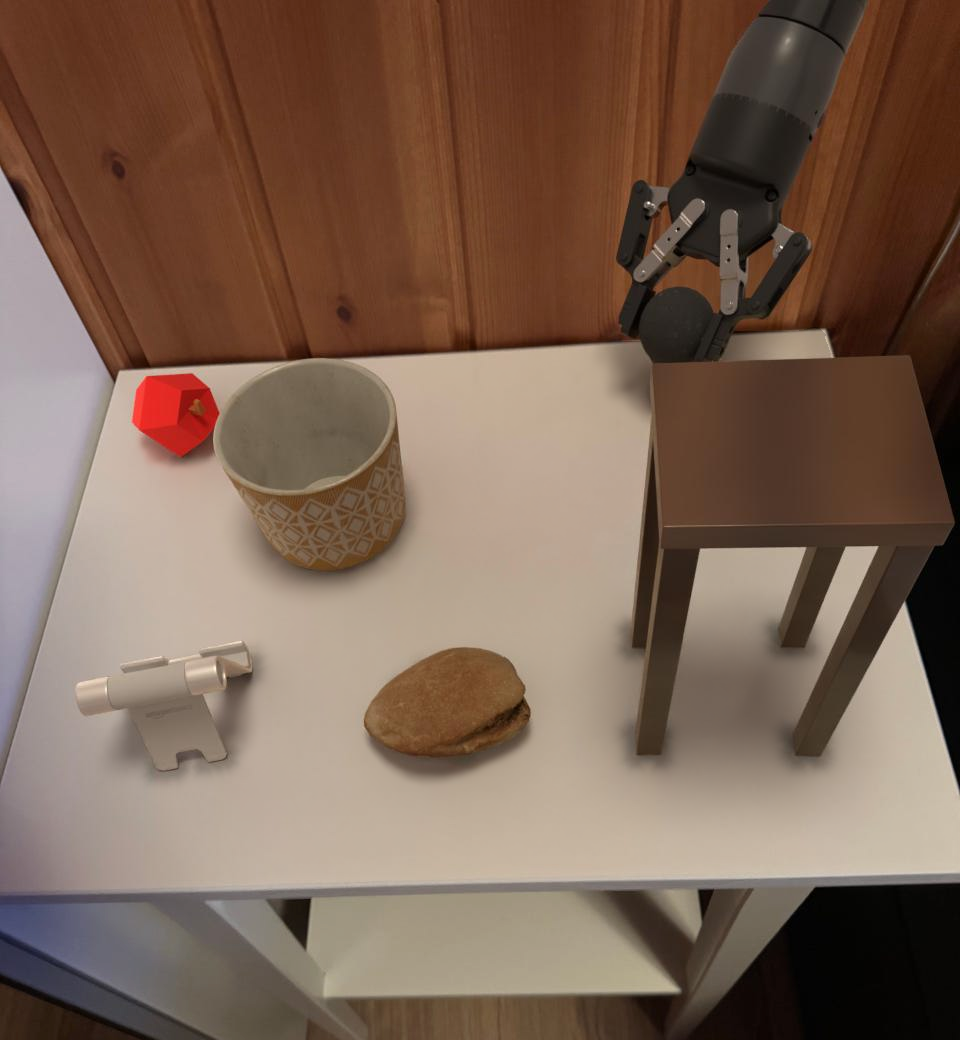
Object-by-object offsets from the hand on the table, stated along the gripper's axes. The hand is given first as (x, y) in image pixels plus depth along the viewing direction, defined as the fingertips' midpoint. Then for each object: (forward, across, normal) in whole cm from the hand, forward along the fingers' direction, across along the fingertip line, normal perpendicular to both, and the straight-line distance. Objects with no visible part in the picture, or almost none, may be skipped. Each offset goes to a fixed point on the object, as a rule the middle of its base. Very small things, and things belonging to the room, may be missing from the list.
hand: (664, 350), depth 71 cm
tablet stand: (+34, -13, -25) cm, 44 cm away
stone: (+27, +2, -18) cm, 32 cm away
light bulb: (+3, 0, +6) cm, 7 cm away
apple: (+21, -32, -12) cm, 40 cm away
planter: (+20, -15, -11) cm, 28 cm away
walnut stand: (+18, +16, -10) cm, 26 cm away
